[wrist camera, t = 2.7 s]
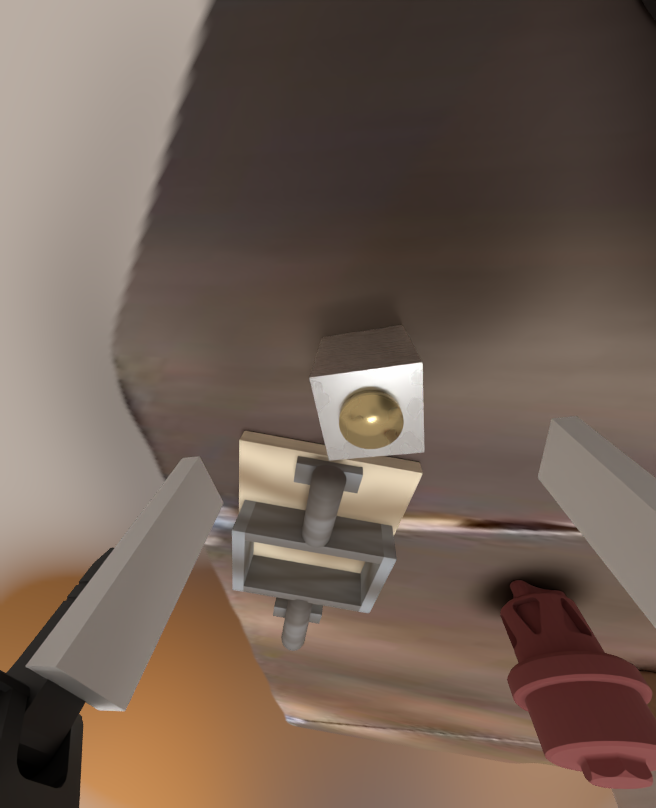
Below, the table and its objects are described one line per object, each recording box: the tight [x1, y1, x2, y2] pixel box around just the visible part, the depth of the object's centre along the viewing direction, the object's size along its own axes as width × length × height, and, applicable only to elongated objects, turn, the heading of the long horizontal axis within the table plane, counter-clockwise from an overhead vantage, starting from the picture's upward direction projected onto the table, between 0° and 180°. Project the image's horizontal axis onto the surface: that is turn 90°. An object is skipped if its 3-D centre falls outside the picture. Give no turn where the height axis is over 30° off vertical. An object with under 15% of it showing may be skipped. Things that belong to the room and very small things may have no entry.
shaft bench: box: [232, 431, 423, 651], centre depth 26 cm, size 22×14×6 cm, turn 170°
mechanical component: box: [500, 580, 656, 789], centre depth 25 cm, size 12×10×10 cm
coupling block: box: [309, 325, 424, 461], centre depth 16 cm, size 5×5×7 cm
